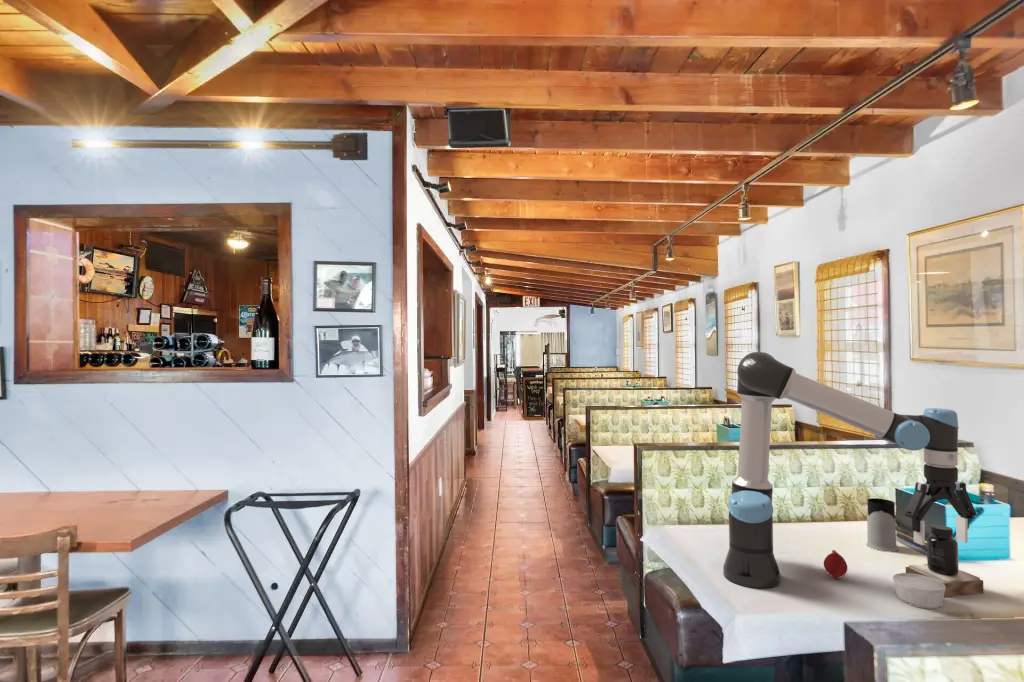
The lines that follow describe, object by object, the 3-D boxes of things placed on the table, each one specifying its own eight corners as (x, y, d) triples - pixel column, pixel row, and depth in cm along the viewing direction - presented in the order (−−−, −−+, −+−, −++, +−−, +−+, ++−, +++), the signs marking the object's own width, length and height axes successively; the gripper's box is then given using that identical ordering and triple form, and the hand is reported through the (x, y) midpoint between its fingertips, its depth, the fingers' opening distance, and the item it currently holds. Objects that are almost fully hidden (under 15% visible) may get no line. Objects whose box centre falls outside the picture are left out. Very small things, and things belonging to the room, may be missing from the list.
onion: (845, 575, 163) (844, 548, 163) (849, 583, 158) (849, 554, 158) (822, 573, 165) (821, 545, 165) (826, 581, 160) (825, 552, 160)
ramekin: (923, 591, 152) (923, 571, 152) (958, 610, 141) (957, 589, 141) (883, 592, 152) (882, 572, 152) (914, 611, 141) (913, 590, 141)
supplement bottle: (965, 576, 152) (964, 531, 152) (939, 576, 152) (938, 531, 152) (946, 566, 159) (945, 523, 159) (921, 566, 159) (920, 523, 159)
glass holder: (866, 548, 185) (865, 502, 185) (866, 536, 197) (865, 493, 197) (898, 553, 180) (897, 506, 181) (896, 540, 192) (895, 496, 193)
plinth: (944, 597, 149) (944, 581, 149) (905, 579, 160) (905, 564, 160) (983, 593, 150) (983, 578, 151) (942, 575, 162) (942, 561, 162)
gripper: (912, 469, 150) (912, 549, 150) (992, 466, 154) (992, 544, 154) (889, 463, 158) (889, 539, 158) (966, 461, 162) (966, 535, 162)
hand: (940, 542), depth 156 cm, fingers open, 13 cm apart
